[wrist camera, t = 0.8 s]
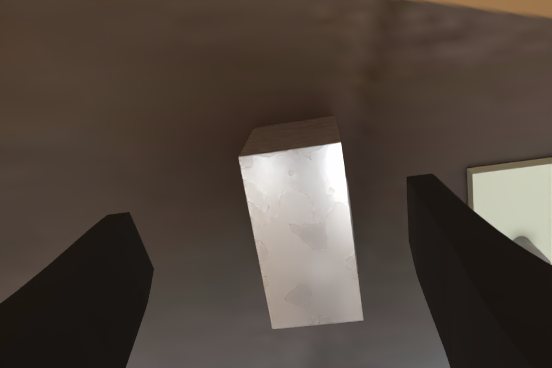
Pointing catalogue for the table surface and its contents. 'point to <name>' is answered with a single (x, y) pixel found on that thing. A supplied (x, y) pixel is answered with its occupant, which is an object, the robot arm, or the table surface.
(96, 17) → the table surface
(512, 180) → the peg board
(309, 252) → the block
